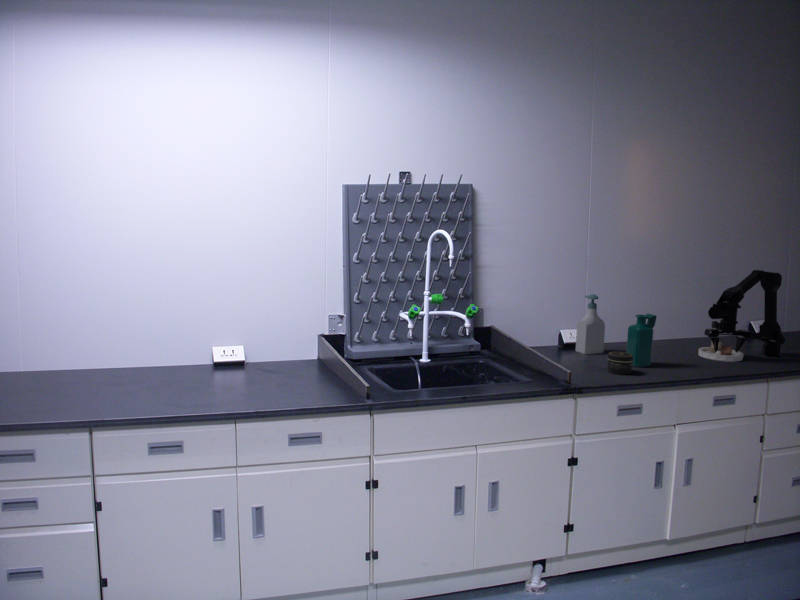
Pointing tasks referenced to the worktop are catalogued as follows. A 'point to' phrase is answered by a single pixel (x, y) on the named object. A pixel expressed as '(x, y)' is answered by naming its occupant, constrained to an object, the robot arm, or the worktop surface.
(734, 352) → the tray
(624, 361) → the jar
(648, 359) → the pitcher
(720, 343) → the bead maple
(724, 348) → the bead terracotta
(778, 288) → the robot arm
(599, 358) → the worktop surface
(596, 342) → the soap bottle
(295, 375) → the worktop surface
